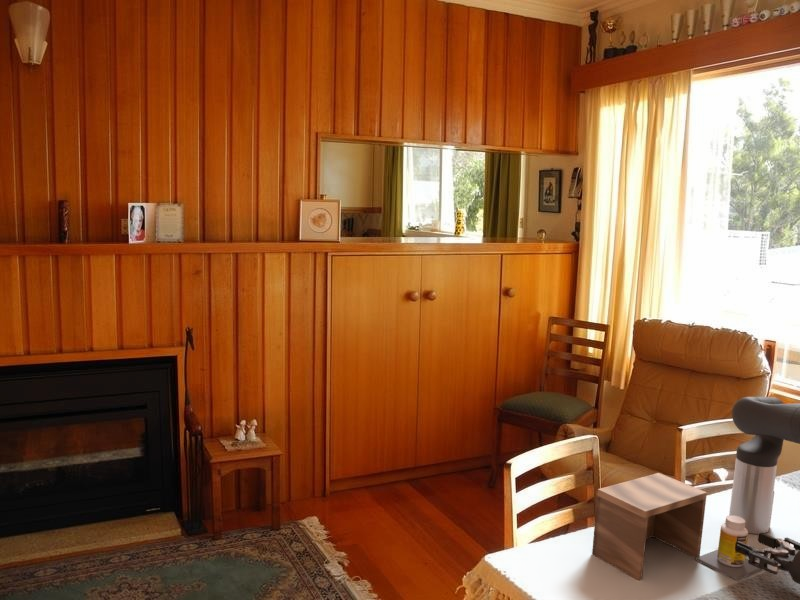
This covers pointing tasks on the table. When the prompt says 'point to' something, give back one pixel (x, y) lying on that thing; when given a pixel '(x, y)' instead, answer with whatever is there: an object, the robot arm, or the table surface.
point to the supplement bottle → (732, 541)
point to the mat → (732, 572)
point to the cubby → (646, 520)
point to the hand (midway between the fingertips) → (747, 541)
